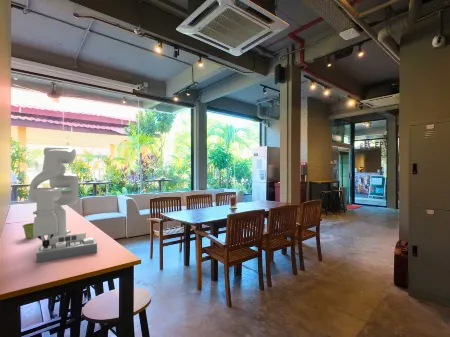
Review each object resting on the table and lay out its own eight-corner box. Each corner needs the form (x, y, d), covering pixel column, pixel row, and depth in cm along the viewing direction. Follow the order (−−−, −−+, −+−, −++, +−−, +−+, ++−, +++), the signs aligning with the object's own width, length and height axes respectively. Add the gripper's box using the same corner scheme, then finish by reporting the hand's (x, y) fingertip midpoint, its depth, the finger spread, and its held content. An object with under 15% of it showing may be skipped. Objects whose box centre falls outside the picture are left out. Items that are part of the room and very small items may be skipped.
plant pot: (28, 240, 160) (28, 226, 160) (18, 238, 163) (18, 225, 163) (43, 236, 169) (43, 223, 168) (33, 234, 172) (33, 222, 171)
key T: (84, 246, 138) (83, 240, 138) (83, 243, 142) (83, 238, 142) (93, 244, 141) (93, 239, 141) (92, 242, 145) (92, 237, 145)
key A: (40, 255, 127) (40, 249, 127) (41, 252, 131) (40, 246, 131) (51, 253, 130) (51, 247, 130) (51, 251, 134) (51, 245, 134)
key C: (70, 250, 135) (70, 245, 135) (69, 248, 139) (69, 242, 138) (80, 249, 137) (80, 243, 137) (79, 246, 141) (79, 241, 141)
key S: (55, 250, 131) (55, 244, 131) (55, 248, 135) (55, 242, 135) (66, 249, 134) (66, 243, 134) (65, 246, 137) (65, 241, 137)
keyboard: (36, 262, 124) (36, 245, 123) (38, 255, 134) (37, 238, 133) (97, 252, 139) (96, 236, 138) (94, 246, 149) (94, 231, 148)
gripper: (26, 215, 123) (27, 252, 123) (62, 212, 131) (63, 247, 131) (28, 213, 129) (28, 248, 129) (62, 210, 137) (62, 243, 138)
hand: (46, 247), depth 130 cm, fingers closed
